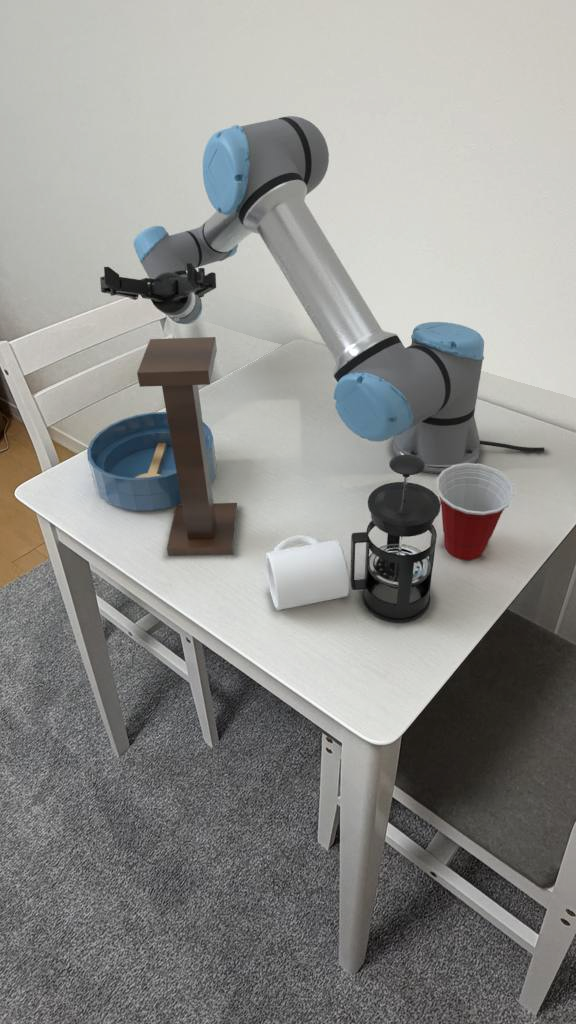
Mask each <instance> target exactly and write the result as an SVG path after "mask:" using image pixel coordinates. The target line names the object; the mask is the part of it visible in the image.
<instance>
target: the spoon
mask: <svg viewBox="0 0 576 1024" xmlns="http://www.w3.org/2000/svg"><path fill="white" fill-rule="evenodd" d="M166 449H167V444H166V443H158V445H157V447H156V450H155V453H154V456H153V459H152V462H151V465H150V468H149V471H148V473H146V474H142V475H139V476H137V477H135V478H149V477H155V476H161V475H159V471H160V468H161V465H162V462H163V459H164V455H165V452H166Z"/></svg>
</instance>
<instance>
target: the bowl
mask: <svg viewBox="0 0 576 1024" xmlns="http://www.w3.org/2000/svg"><path fill="white" fill-rule="evenodd" d="M203 428H204V435H205V443H206V450H207V458H208V465H209V473H210V480H211V484H212V483H213V481H214V479H215V478H216V475H217V468H218V464H217V458H216V450H215V449H216V447H215V440H214V435H213V432H212V430H211V428H210V427H209V426H208V425H207V424H206V423H205V422H204V421H203ZM158 443H166V444H167V449H166V452H165V455H164V459H163V462H162V465H161V468H160V471H159V475H161V476H155V477H149V478H135V477H137V476H139V475H142V474H146V473H148V471H149V468H150V465H151V462H152V459H153V456H154V453H155V450H156V447H157V445H158ZM86 455H87V462H88V465H89V469H90V473H91V478H92V481H93V484H94V489H95V490H96V492H97V493H98V496H99V497H100V498H101V499H103V500H104V501H105V502H107V503H108V504H110V505H112V506H115V507H117V508H120V509H123V510H131V511H138V512H141V511H142V512H143V511H157V510H163V509H167V508H173V507H176V504H182V502H181V496H180V490H179V484H178V478H177V472H176V466H175V460H174V454H173V448H172V443H171V437H170V431H169V425H168V419H167V413H166V411H156V412H155V411H154V412H147V413H141V414H135V415H132V416H128V417H124V418H123V419H120V420H118V421H116V422H113V423H111V424H109V425H108V426H106V427H105V428H104V429H103V428H102V430H100V431H99V432H98V433H97V434H96V435H95V436H94V437H93V438H92V440H90V443H89V444H88V447H87V449H86Z"/></svg>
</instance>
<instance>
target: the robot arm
mask: <svg viewBox="0 0 576 1024" xmlns="http://www.w3.org/2000/svg"><path fill="white" fill-rule="evenodd" d="M325 138H326V137H324V134H323V133H322V131H321V130H320V129H319V128H318V127H317V125H315V124H313V123H312V121H310V120H307V119H306V118H303V117H300V116H293V115H288V116H287V115H286V116H282V117H279V118H273V119H269V120H265V121H259V122H253V123H250V124H245V125H238V124H234V125H232V126H230V127H228V128H224V129H221V130H218V131H216V132H214V133H213V134H212V135H211V136H210V137H209V139H208V141H207V143H206V145H205V148H204V151H203V156H202V180H203V185H204V190H205V193H206V196H207V197H208V198H207V199H208V201H209V203H210V204H211V205H212V206H213V207H212V208H214V210H215V212H214V213H213V214H212V215H210V217H208V219H207V220H206V221H205V222H203V223H202V224H201V226H199V227H196V228H193V229H189V230H185V231H181V232H178V233H174V234H171V235H169V232H168V231H167V229H166V228H165V227H164V226H162V225H153V226H150V227H148V228H145V229H144V230H141V232H139V233H138V234H137V235H136V236H135V238H134V240H133V248H134V250H135V253H136V255H137V258H138V261H139V262H140V264H141V266H142V267H143V270H144V271H145V273H146V275H147V277H143V278H141V279H137V278H130V277H123V276H120V274H119V273H118V272H116V271H115V270H114V269H113V268H111V267H109V266H103V273H104V275H103V276H101V277H100V278H99V279H100V293H102V294H109V295H110V296H111V297H113V296H119V297H124V298H129V299H130V300H134V301H136V300H138V299H139V296H140V297H141V298H142V299H146V300H150V301H151V303H152V304H153V306H154V307H155V308H156V309H157V310H158V311H160V312H161V313H163V314H164V315H166V316H167V317H168V318H169V319H170V320H171V321H172V322H174V323H176V324H181V325H190V324H193V323H195V322H197V320H198V319H199V318H200V317H201V315H202V311H203V300H202V298H204V297H205V295H206V294H208V293H209V292H212V291H213V290H215V289H217V274H216V272H209V273H206V269H205V267H204V266H206V265H210V264H214V263H216V262H222V261H224V260H226V259H228V258H231V257H233V256H235V254H237V250H238V248H239V244H241V242H243V241H244V240H246V238H247V237H249V236H250V235H251V234H252V233H253V234H257V235H259V237H260V238H261V239H262V241H263V244H265V246H266V248H267V249H268V251H269V253H270V254H271V256H272V258H273V259H274V261H275V263H276V265H277V266H278V268H279V270H280V271H281V273H282V274H283V276H284V278H285V279H286V281H287V282H288V284H289V286H290V287H291V289H292V291H293V292H294V294H295V296H296V298H297V299H298V301H299V302H300V304H301V306H302V308H303V309H304V311H305V312H306V314H307V315H308V318H309V319H310V321H311V322H312V324H313V326H314V327H315V329H316V330H317V332H318V334H319V335H320V337H321V339H322V341H323V343H324V344H325V345H326V347H327V349H328V351H329V352H330V355H332V357H333V359H334V360H335V364H334V370H333V371H332V372H333V373H332V375H333V376H332V377H334V379H335V381H336V385H335V387H334V390H333V399H334V401H336V402H335V403H334V407H335V410H336V412H337V415H338V416H339V418H340V419H341V421H342V422H343V424H344V425H345V426H346V427H347V429H348V430H350V431H351V432H352V433H353V434H354V435H356V436H358V437H359V438H361V439H366V440H367V441H370V442H376V443H379V442H384V441H388V440H390V439H392V438H393V446H392V447H393V448H392V449H393V453H394V456H395V457H396V456H399V455H413V456H416V457H419V458H420V459H422V460H423V462H424V463H425V468H424V470H423V471H422V472H424V473H429V474H430V473H431V474H441V472H442V471H443V470H445V469H447V468H449V467H451V466H453V465H457V464H463V463H474V464H476V462H477V460H478V459H479V456H480V449H481V446H488V447H489V446H490V447H495V448H503V449H508V450H513V451H519V452H531V453H532V452H535V453H536V452H537V453H541V452H545V447H529V446H528V447H526V446H520V445H519V446H518V445H513V444H508V443H503V442H502V443H501V442H495V441H489V440H488V441H487V440H480V436H479V432H478V427H477V423H476V418H475V411H476V405H477V399H478V392H479V387H480V381H481V375H482V374H481V373H482V367H483V362H484V361H483V360H485V356H484V352H485V351H484V349H485V340H484V338H483V336H482V335H481V334H480V333H479V332H478V331H477V330H475V329H473V328H471V327H468V326H466V325H463V324H458V323H453V322H445V321H430V322H429V321H428V322H424V323H420V324H418V325H415V327H414V328H413V330H412V334H411V335H410V339H411V344H410V345H408V346H407V347H405V346H404V344H403V342H402V340H401V339H400V337H399V336H398V334H397V333H395V332H389V331H386V330H384V329H382V326H380V324H379V322H378V320H377V318H376V317H375V316H374V314H373V312H372V311H371V309H370V307H369V306H368V304H367V302H366V301H365V298H363V297H364V296H362V294H361V293H360V291H359V289H358V287H357V286H356V284H355V282H354V281H353V279H352V277H351V276H350V274H349V273H348V271H347V269H346V268H345V266H344V264H343V263H342V261H341V259H340V258H339V256H338V254H337V252H336V251H335V250H334V247H333V246H332V244H331V243H330V241H329V240H328V238H327V236H326V235H325V233H324V231H323V229H322V228H321V226H320V225H319V223H318V221H317V220H316V218H315V216H314V215H313V213H312V211H311V209H310V208H309V206H308V205H307V203H306V201H305V200H306V196H307V195H308V194H310V193H312V191H314V190H315V189H316V188H317V187H318V186H320V184H321V182H322V181H323V180H324V178H325V177H326V173H327V172H328V168H329V163H330V155H329V154H330V153H329V146H328V143H327V141H326V139H325Z"/></svg>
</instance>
